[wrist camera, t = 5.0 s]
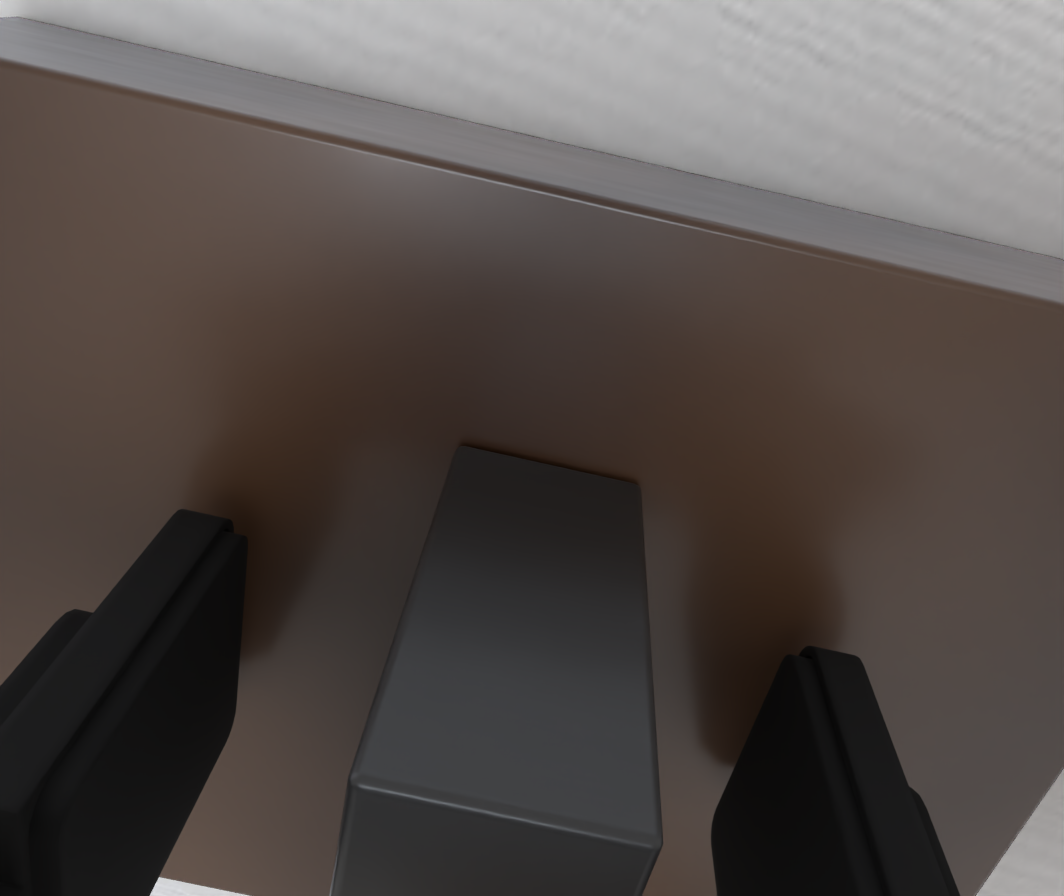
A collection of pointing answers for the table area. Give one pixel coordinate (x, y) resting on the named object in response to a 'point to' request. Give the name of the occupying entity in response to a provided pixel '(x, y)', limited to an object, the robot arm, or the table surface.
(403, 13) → the table surface
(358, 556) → the plate
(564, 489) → the lock knob
